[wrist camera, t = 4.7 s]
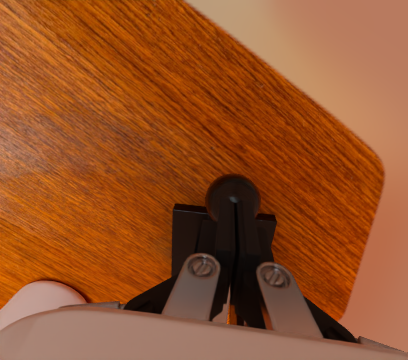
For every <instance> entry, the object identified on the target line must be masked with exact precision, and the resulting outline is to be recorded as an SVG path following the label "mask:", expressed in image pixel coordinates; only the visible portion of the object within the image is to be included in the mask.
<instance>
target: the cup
mask: <svg viewBox="0 0 408 360" xmlns="http://www.w3.org/2000/svg"><path fill="white" fill-rule="evenodd" d="M74 304H87V302H86V300H85V299H84V298H83V297H82V296H81V295H80V294H79V293H78V292H77V291H75V290H74V289H72V288H71V287H69V286H67V285H64V284H62V283H59V282H55V281H36V282H32V283H30V284H28V285H26V286H24V287H23V288H21V289H20V290H19V291H18V292H17V293H16V294H15V295H14V297H13V298H12V299H11V300H10V301H9V302H8V303H7V304H6V305H5V306H4V307H3V308H2V309H1V310H0V330H2V329H3V328H5V327H6V326H8V325H9V324H11V323H13V322H15V321H17V320H19V319H21V318H24V317H26V316H29V315H32V314H35V313H39V312H43V311H48V310H52V309H57V308H59V307H61V306H66V305H74Z"/></svg>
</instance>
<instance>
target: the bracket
mask: <svg viewBox="0 0 408 360" xmlns="http://www.w3.org/2000/svg"><path fill="white" fill-rule="evenodd" d="M203 220H210V221H213V220H212V218H211V217H210V216H209V214H208V212H207V209H206V207H201V206H193V205H185V204H175V205H174V208H173V222H172V273H171V277H173V276H175V275H177V274H178V273H180V271H181V269H182V267H183V265H184V262H185V261H186V259H187V258H188V257H189V256H191V255H193V254H196V253H197V248H198V243H199V237H200V232H201V226H202V221H203ZM255 221H256V226H259V227H265V228H266V230H267V234H268V238H269V242H270V246H271V243H272V240H273V236H274V232H275V228H276V224H277V221H276V217H275V215H269V214H260V213H258V214H257V216H256V218H255ZM229 324H231V325H238V326H244V320H243V319H242V318H241V317H240V316H239V314H235V310H234V305H230V301H229Z"/></svg>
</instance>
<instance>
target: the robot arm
mask: <svg viewBox="0 0 408 360" xmlns="http://www.w3.org/2000/svg"><path fill="white" fill-rule="evenodd" d="M229 287H230V305H234V310H235V314H239V316H240V317H241V318H242V319H243V320H244V326H238V325H231V324H224V323H217V322H213V318H215V317H216V316H217V315H218V314H220V313H221V312H222V311H223V305H224V304H227V299H228V293H229ZM0 360H408V353H407V352H404V351H401V350H398V349H395V348H392V347H389V346H387V345H384V344H381V343H378V342H375V341H372V340H369V339H367V338H364V337H361V336H359V338H358V339H356V338H354V336H353V335H352V334H351V333H350V332H349V331H348V330H347V329H346V328H345V327H343V326H342V325H341V324H339V323H338V322H337V321H335V320H334V319H333V318H332V317H330V316H329V315H328V314H326V313H325V312H324V311H323V310H321V309H320V308H319V307H317V306H316V305H315V304H313V303H312V302H311V301H310V300H308V299H307V298H306V297H304V296H303V295H302V293H301V291H300V289H299V287H298V285H297V283H296V281H295V279H294V277H293V275H292V274H291V272H290V271H289V270H288V269H287V268H286V267H284V266H282V265H281V264H278V263H275V262H274V259H273V255H272V250H271V246H270V242H269V238H268V234H267V230H266V228H265V227H259V226H256V221H255V215H254V209H253V204H252V201H248V200H241V202H237V204H236V210H235V217H234V202H233V201H230V198H222V197H220V200H219V209H218V217H217V221H210V220H203V221H202V226H201V232H200V237H199V243H198V248H197V253H196V254H193V255H191V256H189V257H188V258H187V259H186V261H185V262H184V265H183V267H182V269H181V271H180V273H178V274H177V275H175V276H173V277H171V278H169V279H167V280H166V281H164V282H162V283H160V284H158V285H156V286H155V287H153V288H151V289H149V290H147V291H145V292H144V293H142V294H140V295H138V296H136V297H134V298H133V299H132V300H130V301H129V302H128V303H127V304H120V301H115V302H101V303H88V304H74V305H66V306H61V307H59V308H57V309H52V310H48V311H43V312H39V313H35V314H32V315H29V316H26V317H24V318H21V319H19V320H17V321H15V322H13V323H11V324H9V325H8V326H6V327H5V328H3V329H2V330H0Z"/></svg>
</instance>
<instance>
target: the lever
mask: <svg viewBox="0 0 408 360" xmlns="http://www.w3.org/2000/svg"><path fill="white" fill-rule="evenodd" d="M220 197H222V198H230V201H233V202H234V217H235V210H236V204H237V202H241V200H248V201H252V204H253V209H254V215H255V218H256V216H257V214H258V213H259V210H260V205H261V197H260V193H259V190H258V188H257V187H256V185H255V184H254V183H253V182H252V181H251V180H250V179H249V178H247V177H245V176H243V175H240V174H225V175H222V176H220V177H218V178H217V179H216V180H214V181H213V182H212V184H211V185H210V186H209V188H208V190H207V193H206V197H205V204H206V209H207V212H208V214H209V216H210V217H211V218H212V220H213V221H217V217H218V209H219V200H220ZM229 301H230V287H229V293H228V299H227V304H224V305H223V311H222V312H221V313H220V314H218V315H217V316H216V317H215V318H213V322H217V323H224V324H227V316H228V309H229Z"/></svg>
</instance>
